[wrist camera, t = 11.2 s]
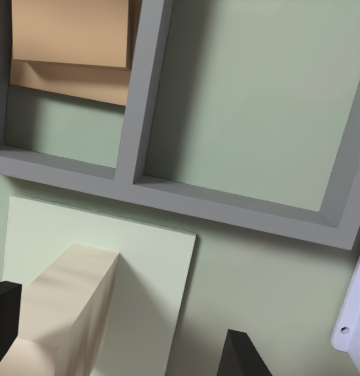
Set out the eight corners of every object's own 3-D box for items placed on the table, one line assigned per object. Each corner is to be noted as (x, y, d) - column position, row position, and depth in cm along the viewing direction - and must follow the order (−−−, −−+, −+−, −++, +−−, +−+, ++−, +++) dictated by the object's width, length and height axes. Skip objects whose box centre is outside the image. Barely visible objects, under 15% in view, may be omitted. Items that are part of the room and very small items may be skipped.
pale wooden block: (103, 345, 23) (39, 487, 14) (61, 335, 23) (-29, 470, 14) (119, 252, 21) (58, 347, 13) (74, 242, 21) (-18, 329, 13)
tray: (330, 231, 20) (351, 250, 18) (-13, 156, 21) (-49, 163, 18) (455, -156, 16) (510, -216, 13) (14, -232, 17) (-27, -306, 14)
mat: (161, 388, 24) (160, 394, 23) (0, 350, 24) (-4, 355, 24) (196, 233, 21) (195, 236, 21) (14, 193, 22) (9, 195, 21)
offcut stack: (133, 107, 20) (122, 105, 18) (22, 85, 21) (-6, 81, 18) (161, -80, 18) (153, -114, 15) (37, -101, 18) (7, -139, 16)
